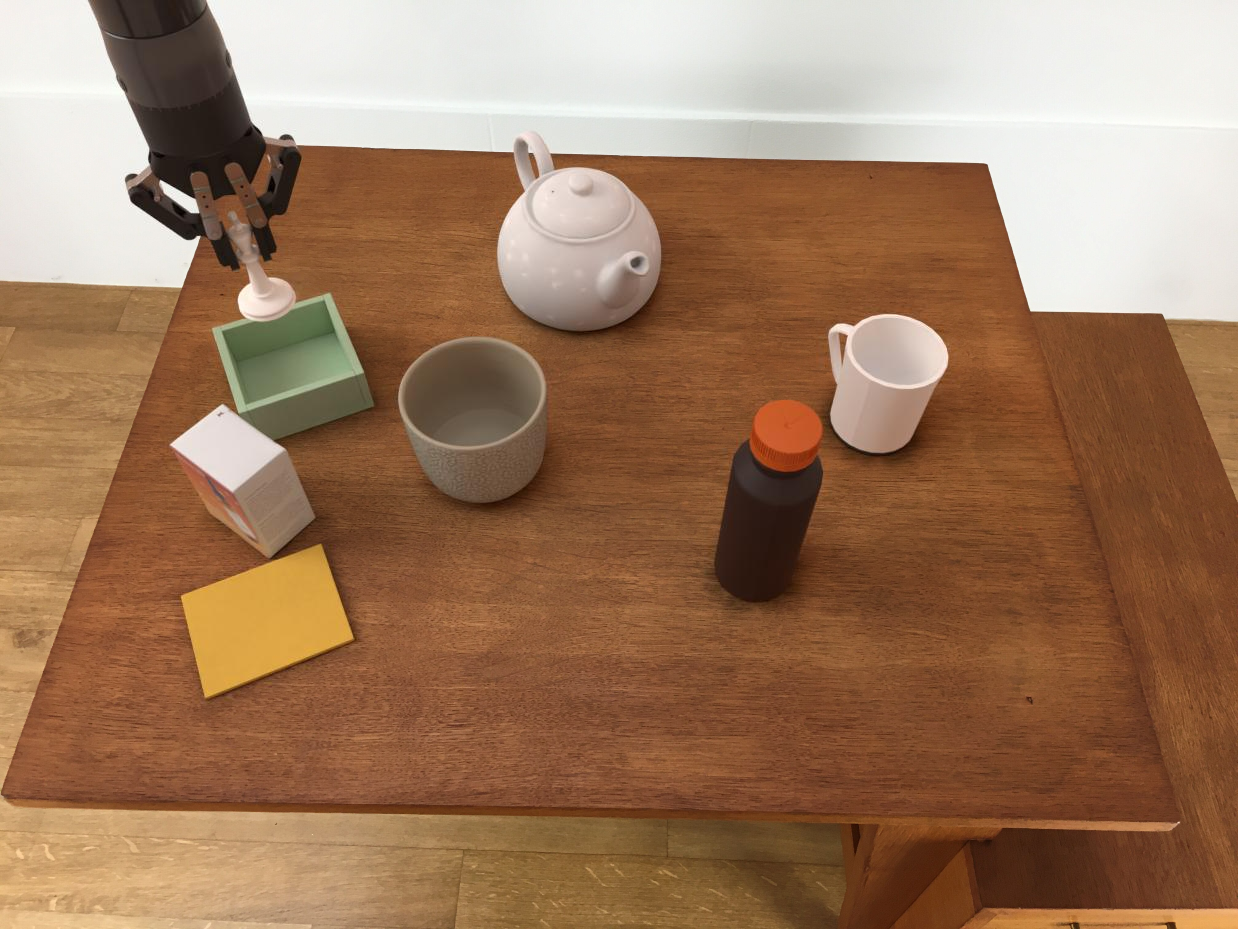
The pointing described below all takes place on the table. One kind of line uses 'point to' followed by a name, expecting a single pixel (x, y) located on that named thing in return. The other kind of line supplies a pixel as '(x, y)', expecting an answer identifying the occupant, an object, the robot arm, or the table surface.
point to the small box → (244, 480)
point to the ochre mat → (265, 620)
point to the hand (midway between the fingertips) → (249, 259)
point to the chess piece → (258, 279)
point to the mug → (883, 380)
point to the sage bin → (293, 369)
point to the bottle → (769, 501)
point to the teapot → (576, 245)
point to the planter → (476, 417)
